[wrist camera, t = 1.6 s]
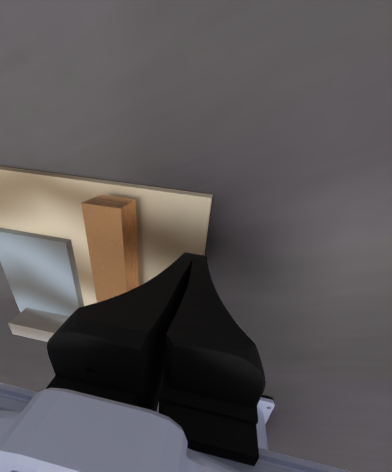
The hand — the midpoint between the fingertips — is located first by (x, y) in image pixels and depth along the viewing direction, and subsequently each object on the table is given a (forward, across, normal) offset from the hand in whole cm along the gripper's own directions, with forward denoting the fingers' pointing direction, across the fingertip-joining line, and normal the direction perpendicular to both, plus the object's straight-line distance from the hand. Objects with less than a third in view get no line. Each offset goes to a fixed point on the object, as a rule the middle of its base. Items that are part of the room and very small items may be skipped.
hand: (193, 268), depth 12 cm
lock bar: (+2, +6, +4) cm, 7 cm away
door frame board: (+4, +9, +6) cm, 11 cm away
